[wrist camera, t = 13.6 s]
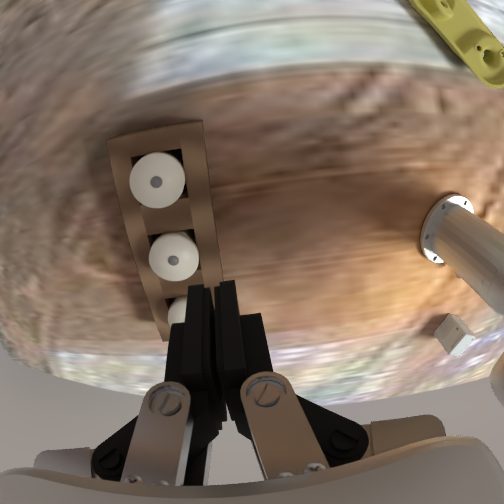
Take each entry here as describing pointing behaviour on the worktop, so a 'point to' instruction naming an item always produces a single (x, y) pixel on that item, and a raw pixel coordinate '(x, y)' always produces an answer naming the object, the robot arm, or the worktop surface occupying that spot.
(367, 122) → the worktop surface
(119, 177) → the mount
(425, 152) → the worktop surface
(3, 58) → the worktop surface
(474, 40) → the plastic component
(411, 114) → the worktop surface
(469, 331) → the product box
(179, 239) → the knob
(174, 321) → the knob
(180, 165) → the knob
